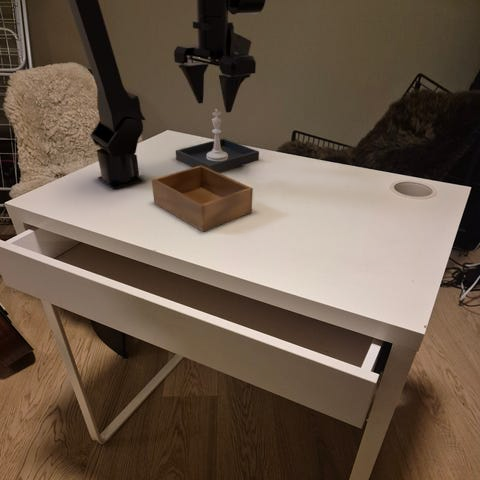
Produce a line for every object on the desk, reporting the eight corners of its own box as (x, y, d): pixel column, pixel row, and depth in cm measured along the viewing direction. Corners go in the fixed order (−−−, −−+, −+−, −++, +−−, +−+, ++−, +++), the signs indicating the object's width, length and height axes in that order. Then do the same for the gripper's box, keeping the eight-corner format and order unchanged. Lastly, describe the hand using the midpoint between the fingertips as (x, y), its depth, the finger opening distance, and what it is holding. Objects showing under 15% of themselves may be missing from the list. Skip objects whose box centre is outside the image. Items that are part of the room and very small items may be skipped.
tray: (210, 175, 87) (210, 165, 85) (176, 159, 93) (175, 150, 92) (258, 160, 94) (259, 151, 93) (223, 146, 101) (223, 138, 100)
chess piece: (202, 155, 94) (200, 107, 88) (222, 152, 96) (221, 105, 89) (212, 162, 91) (210, 113, 84) (231, 159, 93) (232, 110, 86)
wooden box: (202, 231, 68) (201, 206, 65) (154, 203, 76) (151, 179, 73) (251, 212, 74) (252, 188, 71) (202, 187, 82) (201, 165, 79)
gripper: (279, 18, 76) (272, 110, 86) (213, 10, 86) (215, 94, 96) (233, 20, 70) (232, 120, 80) (169, 12, 80) (175, 101, 90)
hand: (214, 107), depth 87 cm, fingers open, 9 cm apart
